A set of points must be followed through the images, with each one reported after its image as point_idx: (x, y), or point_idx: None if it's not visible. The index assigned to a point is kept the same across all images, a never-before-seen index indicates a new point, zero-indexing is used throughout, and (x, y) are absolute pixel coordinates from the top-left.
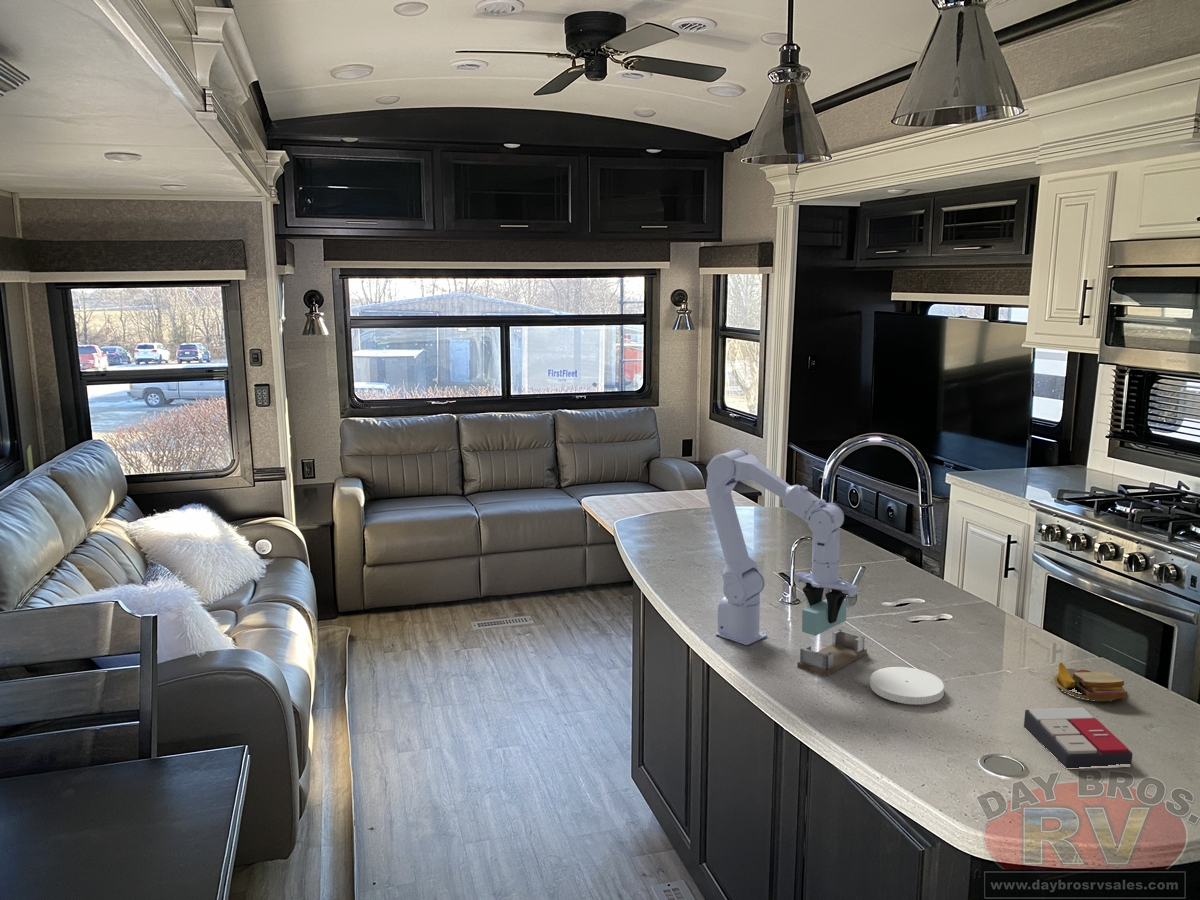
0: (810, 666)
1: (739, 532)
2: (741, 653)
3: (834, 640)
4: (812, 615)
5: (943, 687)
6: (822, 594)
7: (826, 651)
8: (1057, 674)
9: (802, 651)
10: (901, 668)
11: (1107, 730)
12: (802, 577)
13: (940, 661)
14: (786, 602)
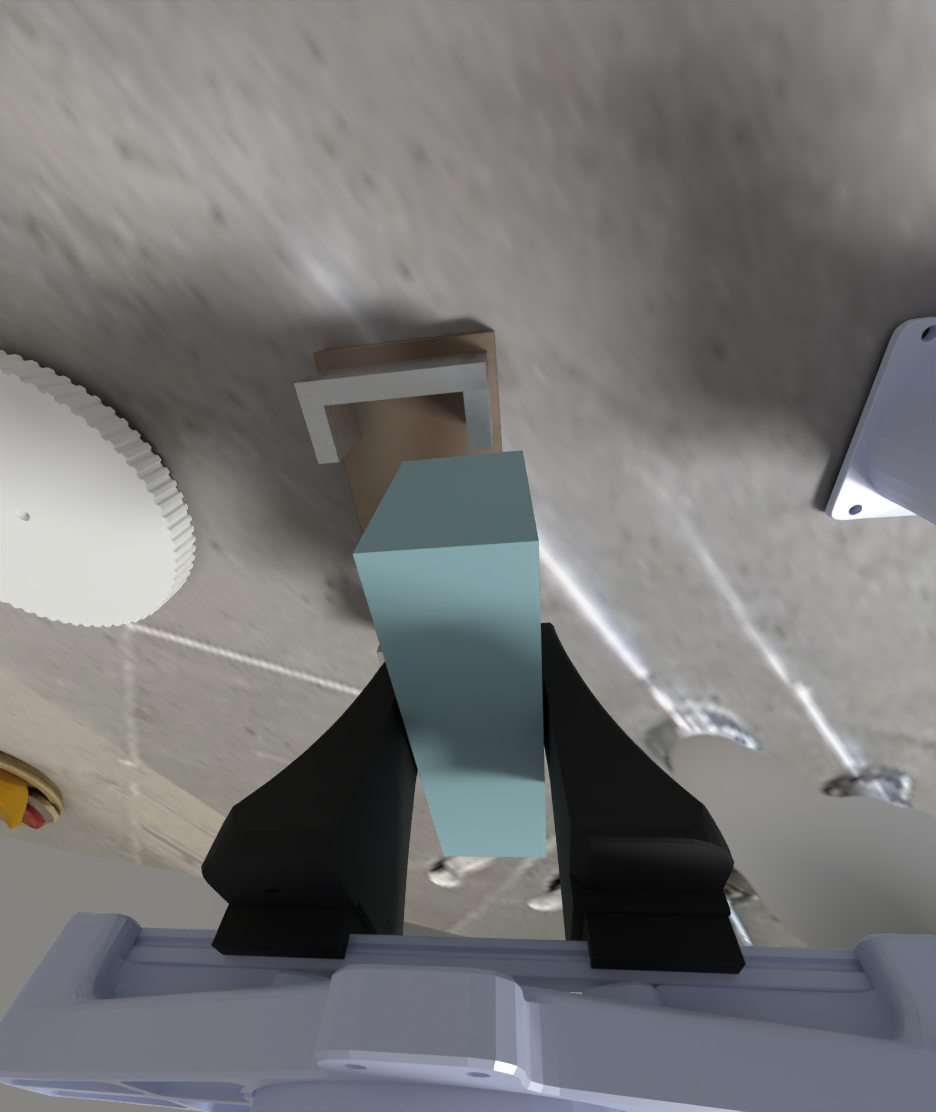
0: (408, 345)
1: None
2: (890, 187)
3: None
4: (404, 533)
5: None
6: (556, 842)
7: None
8: (51, 794)
9: (468, 361)
10: (148, 592)
11: None
12: (864, 1102)
13: (241, 722)
14: (872, 778)
